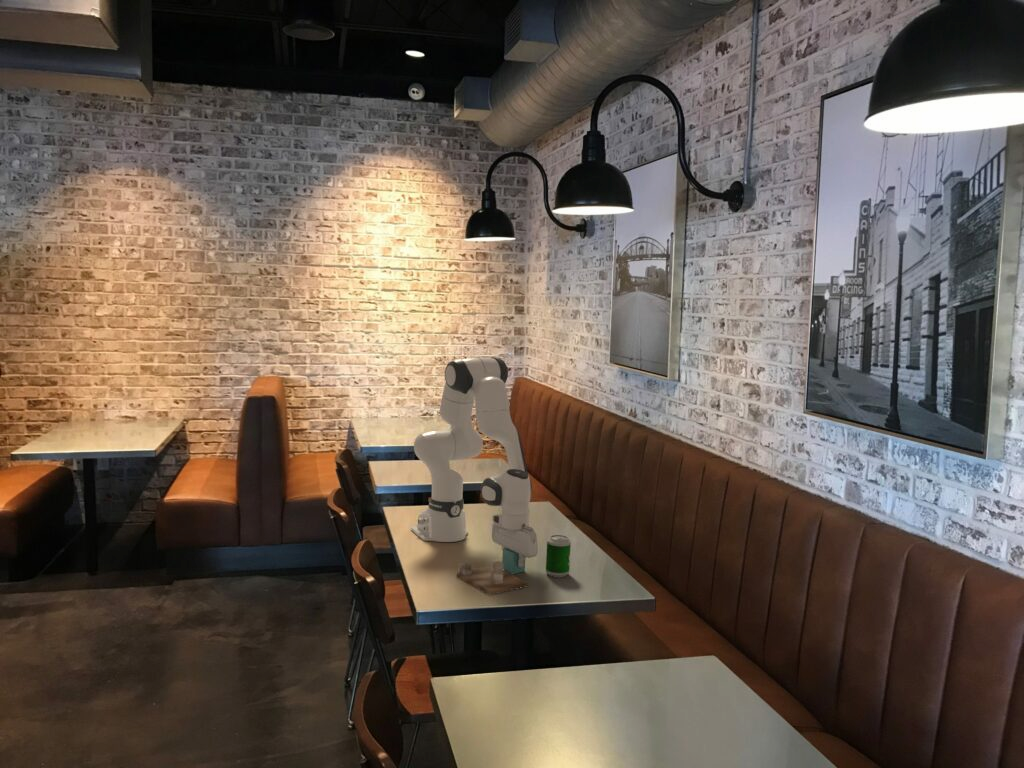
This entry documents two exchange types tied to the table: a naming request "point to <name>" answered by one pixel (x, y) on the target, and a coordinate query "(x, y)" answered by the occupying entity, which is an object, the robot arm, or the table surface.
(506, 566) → the light blue toy cube
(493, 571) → the stand
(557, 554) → the soda can
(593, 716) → the table surface
